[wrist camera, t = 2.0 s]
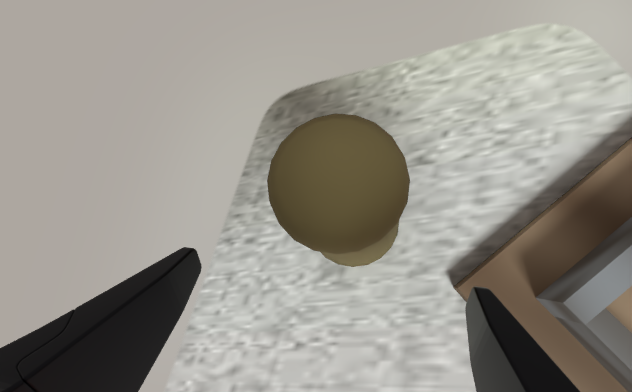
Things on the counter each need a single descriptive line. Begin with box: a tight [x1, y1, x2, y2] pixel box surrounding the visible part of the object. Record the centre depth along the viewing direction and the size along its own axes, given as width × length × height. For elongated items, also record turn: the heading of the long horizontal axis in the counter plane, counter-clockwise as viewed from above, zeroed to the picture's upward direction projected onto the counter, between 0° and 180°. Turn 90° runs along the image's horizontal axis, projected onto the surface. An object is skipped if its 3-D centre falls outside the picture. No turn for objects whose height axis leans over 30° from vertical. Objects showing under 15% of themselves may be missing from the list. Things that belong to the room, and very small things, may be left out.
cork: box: [267, 114, 410, 267], centre depth 15 cm, size 6×6×11 cm
